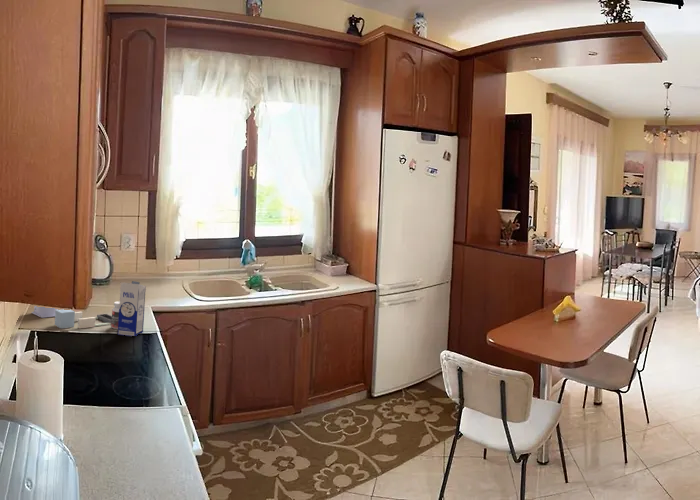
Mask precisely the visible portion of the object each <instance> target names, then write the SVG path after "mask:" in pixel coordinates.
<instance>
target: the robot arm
mask: <svg viewBox="0 0 700 500" xmlns="http://www.w3.org/2000/svg"><path fill="white" fill-rule="evenodd" d="M55 310H59V308H58V309H55V308H45V307H37V306H34V307H33V311H31V314H33V315H35V316H37V317H39V318H41V319H42V318H51V317H54V318H55Z"/></svg>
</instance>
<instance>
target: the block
mask: <svg viewBox="0 0 700 500" xmlns="http://www.w3.org/2000/svg"><path fill="white" fill-rule="evenodd" d="M64 309H65V308H63V309H58V310H55V316H54V326H55V325H56V326H57V328H59V329H67V328H69V329H70V328H74V327H75V322H74V318H75V312H76V311H74V310H72V309H70V310H64ZM56 326H55V327H56Z"/></svg>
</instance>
